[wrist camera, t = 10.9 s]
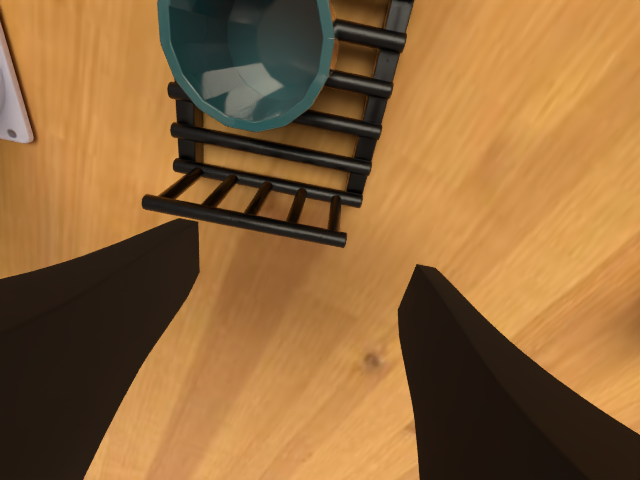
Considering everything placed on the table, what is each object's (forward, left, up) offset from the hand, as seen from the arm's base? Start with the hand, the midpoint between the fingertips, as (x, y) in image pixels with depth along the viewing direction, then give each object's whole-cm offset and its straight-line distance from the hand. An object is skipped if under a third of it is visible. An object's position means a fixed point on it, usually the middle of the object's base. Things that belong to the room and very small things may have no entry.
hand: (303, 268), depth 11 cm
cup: (-3, +6, -8) cm, 11 cm away
